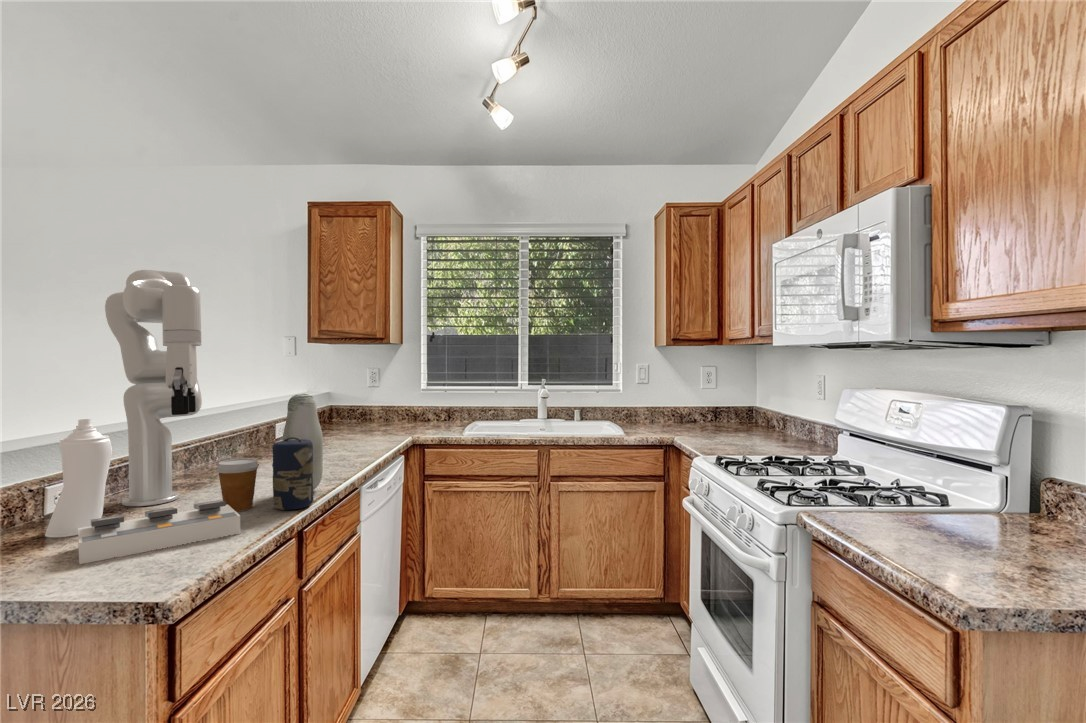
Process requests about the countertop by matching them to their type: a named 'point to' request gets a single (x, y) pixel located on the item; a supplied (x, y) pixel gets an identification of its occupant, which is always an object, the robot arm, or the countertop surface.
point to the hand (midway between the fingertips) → (184, 413)
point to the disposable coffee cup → (238, 482)
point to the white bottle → (81, 480)
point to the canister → (292, 474)
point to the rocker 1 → (107, 520)
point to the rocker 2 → (209, 504)
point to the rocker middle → (160, 512)
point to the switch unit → (155, 533)
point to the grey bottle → (306, 429)
